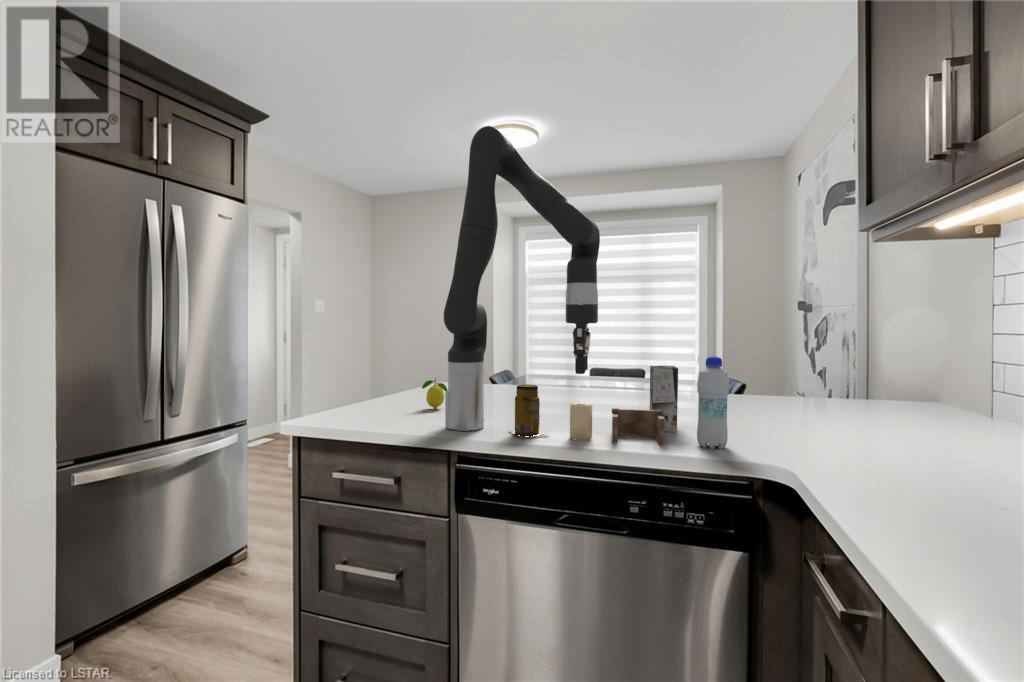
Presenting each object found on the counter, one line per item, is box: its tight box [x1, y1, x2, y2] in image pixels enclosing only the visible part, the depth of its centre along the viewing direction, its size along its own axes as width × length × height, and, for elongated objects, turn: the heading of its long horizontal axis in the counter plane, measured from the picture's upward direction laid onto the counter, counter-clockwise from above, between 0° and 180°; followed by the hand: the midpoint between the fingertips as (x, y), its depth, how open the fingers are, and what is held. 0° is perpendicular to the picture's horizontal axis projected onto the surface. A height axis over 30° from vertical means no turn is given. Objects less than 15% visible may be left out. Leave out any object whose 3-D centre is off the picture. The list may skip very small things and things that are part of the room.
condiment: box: [508, 383, 549, 439], centre depth 123 cm, size 7×8×12 cm
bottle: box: [696, 356, 730, 450], centre depth 111 cm, size 7×7×20 cm
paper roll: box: [569, 402, 593, 441], centre depth 119 cm, size 5×5×8 cm
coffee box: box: [649, 365, 679, 433], centre depth 131 cm, size 9×6×16 cm
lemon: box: [421, 377, 448, 410], centre depth 159 cm, size 7×6×10 cm
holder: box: [611, 407, 665, 447], centre depth 119 cm, size 12×11×7 cm
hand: (581, 371), depth 119 cm, fingers open, 8 cm apart
